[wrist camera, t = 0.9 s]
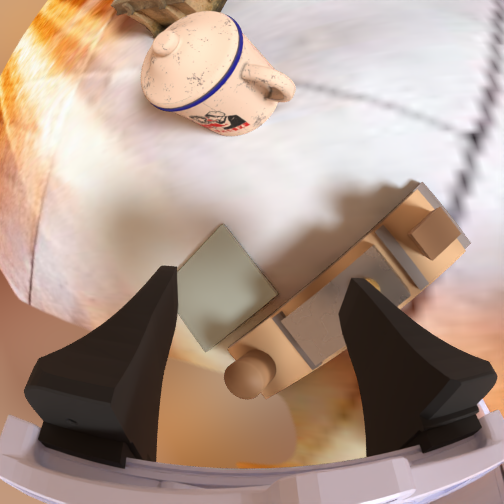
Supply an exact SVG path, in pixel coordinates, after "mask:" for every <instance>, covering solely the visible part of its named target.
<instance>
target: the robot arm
mask: <svg viewBox="0 0 504 504" xmlns="http://www.w3.org/2000/svg"><path fill="white" fill-rule="evenodd" d="M177 313H178V284H177V267H174V266H161V267H160V268H159V269H158V270H157V271H156V272H155V274H154V275H153V276H152V277H151V278H150V279H149V280H148V282H147V283H146V284H145V285H144V286H143V287H142V288H141V289H140V290H139V291H138V293H137V294H136V295H135V296H134V297H133V298H132V299H131V300H130V301H129V302H128V303H126V304H125V305H124V306H123V307H122V308H121V309H120V310H119V311H118V312H117V313H116V314H114V315H113V316H112V317H111V318H110V319H108V320H107V321H106V322H105V323H103V324H102V325H101V326H99V327H98V328H96V329H95V330H93V331H92V332H90V333H89V334H87V335H86V336H84V337H82V338H81V339H79V340H77V341H75V342H74V343H72V344H70V345H68V346H66V347H64V348H62V349H60V350H58V351H55V352H53V353H51V354H48V355H46V356H44V357H41V358H39V359H38V361H37V363H36V365H35V366H34V368H33V371H32V373H31V375H30V377H29V380H28V382H27V384H26V387H25V389H24V393H25V397H26V399H27V401H28V402H29V404H30V405H31V406H32V407H33V409H34V410H35V411H36V412H37V413H38V415H39V416H40V417H41V418H42V419H43V421H44V422H43V425H42V428H40V427H38V426H37V425H35V424H33V423H30V422H28V421H25V420H23V419H20V418H18V417H15V416H13V415H8V417H7V420H6V423H5V425H4V428H3V431H2V434H1V437H0V479H1V480H3V481H5V482H6V483H8V484H9V485H11V486H13V487H14V488H16V489H18V490H19V491H21V492H23V493H25V494H26V495H29V496H31V497H33V498H35V499H38V500H40V501H42V502H45V503H47V504H504V419H503V417H502V415H501V413H500V411H499V410H496V411H493V412H491V413H490V411H489V409H488V408H487V406H486V404H485V402H484V400H483V398H484V397H485V396H486V395H487V393H488V392H489V391H490V390H491V389H492V388H493V386H494V385H495V383H496V380H497V374H496V372H495V371H494V369H493V367H492V366H491V364H490V362H488V361H486V360H483V359H480V358H478V357H475V356H472V355H470V354H468V353H466V352H463V351H461V350H459V349H457V348H455V347H453V346H451V345H449V344H448V343H446V342H444V341H443V340H441V339H439V338H438V337H436V336H434V335H433V334H431V333H430V332H428V331H427V330H426V329H424V328H423V327H421V326H420V325H419V324H417V323H416V322H415V321H413V320H412V319H411V318H410V317H408V316H407V315H406V314H405V313H404V312H402V311H401V310H400V309H399V308H398V307H397V306H395V305H394V304H393V303H392V302H391V301H390V300H389V299H388V298H386V297H385V296H384V295H383V294H382V293H381V292H380V291H379V290H378V289H376V288H375V287H374V286H373V285H372V284H371V283H369V282H368V281H367V280H366V279H364V278H351V280H350V283H349V286H348V288H347V291H346V294H345V297H344V300H343V302H342V305H341V308H340V310H339V313H338V315H339V320H340V326H341V330H342V335H343V338H344V341H345V344H346V347H347V349H348V352H349V355H350V358H351V361H352V364H353V367H354V370H355V373H356V376H357V380H358V384H359V389H360V394H361V400H362V406H363V413H364V421H365V433H366V456H367V457H365V458H360V459H354V460H348V461H342V462H335V463H327V464H319V465H310V466H299V467H285V468H261V469H232V468H231V469H230V468H208V467H207V468H206V467H194V466H183V465H173V464H165V463H158V462H156V451H157V431H158V417H159V406H160V396H161V387H162V380H163V375H164V370H165V366H166V362H167V358H168V354H169V350H170V346H171V343H172V339H173V335H174V331H175V327H176V320H177Z"/></svg>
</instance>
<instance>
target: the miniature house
mask: <svg viewBox="0 0 504 504" xmlns="http://www.w3.org/2000/svg"><path fill="white" fill-rule="evenodd" d="M226 1H227V0H114V1H113V3H112V5H111V6H112V7H114V8H115V9H116V10H117V15H121V14H126V15H128V16H129V17H131V18H133V19H134V20H136V21H138V22H139V23H141V24H143V25H144V26H146V27H147V29H148V30H150V31H151V32H152V34H153V36H154V38H156V37H157V36H158V35H159V34H160V33H161V32H163V31H164V30H166V29H167V28H168V27H169V26H170V25H172V24H173V23H174V22H176V21H178V20H179V19H181V18H183V17H185V16H187V15H190V14H193V13H196V12H201V11H215V12H221V10H222V8H223V7H224V5H225V3H226Z"/></svg>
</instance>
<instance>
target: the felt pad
mask: <svg viewBox="0 0 504 504" xmlns="http://www.w3.org/2000/svg"><path fill="white" fill-rule="evenodd" d="M177 284H178V314H179V316H180V317H181V319H182V320H183V322H184V323H185V324H186V326H187V327H188V329H189V330H190V332H191V333H192V334H193V336H194V337H195V339H196V340H197V342H198V343H199V344H200V346H201V347H202V349H203V350H204V351H205V352H207V351H208V350H209V349H211V348H212V347H213V346H215V345H216V344H217V343H218V342H220V341H221V340H222V339H224V338H225V337H226V336H227V335H229V334H230V333H231V332H232V331H234V330H235V329H236V328H237V327H239V326H240V325H241V324H242V323H244V322H245V321H246V320H247V319H249V318H250V317H251V316H252V315H254V314H255V313H256V312H257V311H258V310H260V309H261V308H262V307H263V306H265V305H266V304H267V303H268V302H269V301H271V300H272V299H273V298H274V297H275V296H277V295H278V293H277V291H276V290H275V289H274V287H273V286H272V285H271V284H270V282H269V281H268V280H267V278H266V277H265V276H264V275H263V273H262V272H261V271H260V269H259V268H258V267H257V266H256V264H255V263H254V262H253V260H252V259H251V258H250V257H249V255H248V254H247V253H246V251H245V250H244V249H243V248H242V246H241V245H240V244H239V242H238V241H237V240H236V239H235V237H234V236H233V235H232V233H231V232H230V231H229V230H228V228H227V227H226V226H225V224H222V225H221V226H220V227H219V228H218V229H217V230H216V231H215V232H214V233H213V234H212V235H211V236H210V237H209V239H208V240H207V241H206V242H205V243H204V244H203V245H202V246H201V247H200V248H199V249H198V250H197V251H196V252H195V254H194V255H193V256H192V257H191V258H190V259H189V260H188V261H187V262H186V263H185V264H184V265H183V267H182V268H181V269H180V270H179V271H178V272H177Z"/></svg>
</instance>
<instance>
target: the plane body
mask: <svg viewBox="0 0 504 504" xmlns="http://www.w3.org/2000/svg"><path fill="white" fill-rule="evenodd" d="M470 244H471V243H470V241H469V240H468V238H467V237H466V236H465V234H464V233H463V231H462V230H461V229H460V227H459V226H458V225H457V223H456V222H455V221H454V219H453V218H452V217H451V216H450V214H449V213H448V212H447V210H446V209H445V208H444V207H443V206H442V204H441V203H440V202H439V201H438V199H437V198H436V197H435V196H434V195H433V193H432V192H431V191H430V190H429V189H428V188H427V186H426V185H425V184H424V183H423V182H421V183H420V184H419V185H418V186H417V187H416V188H415V189H414V190H413V191H412V192H411V193H410V194H409V195H408V196H407V197H406V198H405V199H404V200H403V201H402V202H401V203H399V204H398V205H397V206H396V207H395V208H394V209H393V210H392V211H391V212H390V213H389V214H388V215H387V216H385V217H384V218H383V219H382V220H381V221H380V222H379V223H378V224H377V225H376V226H375V227H373V228H372V229H371V230H370V231H369V232H368V233H367V234H366V235H365V236H363V237H362V238H361V239H360V240H359V241H358V242H357V243H356V244H354V245H353V246H352V247H351V248H350V249H349V250H348V251H346V252H345V253H344V254H343V255H342V256H341V257H340V258H338V259H337V260H336V261H335V262H334V263H333V264H331V265H330V266H329V267H328V268H327V269H326V270H324V271H323V272H322V273H321V274H320V275H318V276H317V277H316V278H315V279H314V280H312V281H311V282H310V283H309V284H308V285H306V286H305V287H304V288H303V289H302V290H300V291H299V292H298V293H297V294H296V295H294V296H293V297H292V298H291V299H289V300H288V301H287V302H286V303H284V304H283V305H282V306H281V307H279V308H278V309H277V310H276V311H274V312H273V313H272V314H271V315H269V316H268V317H267V318H266V319H264V320H263V321H262V322H261V323H259V324H258V325H257V326H255V327H254V328H253V329H252V330H250V331H249V332H248V333H246V334H245V335H244V336H242V337H241V338H240V339H239V340H237V341H236V342H235V343H233V344H232V345H231V346H229V347H228V348H229V349H228V351H229V353H230V354H231V355H232V357H233V358H234V359H235V360H236V361H235V362H234V363H232V364H231V365H230V366H228V367H227V369H226V370H225V374H224V380H225V384H226V386H227V388H228V389H229V390H230V392H231V393H233V394H234V395H235V396H237V397H239V398H242V399H252V398H255V397H256V396H257V395H259V394H260V393H262V395H263V396H264V397H265V399H267V398H269V397H271V396H272V395H274V394H276V393H278V392H280V391H281V390H283V389H285V388H286V387H288V386H290V385H292V384H293V383H295V382H296V381H298V380H300V379H301V378H303V377H305V376H306V375H308V374H309V373H311V372H313V371H314V370H316V369H317V368H319V367H320V366H322V365H324V364H325V363H327V362H328V361H330V360H331V359H333V358H334V357H336V356H337V355H339V354H340V353H341V352H343V351H344V350H346V349H347V347H346V346H344V347H343V348H341V349H340V350H338V351H337V352H335V353H334V354H332V355H331V356H329V357H328V358H326V359H325V360H323V361H322V362H320V363H319V364H317V365H316V366H315V364H314V363H313V362H312V361H311V359H310V358H309V357H308V355H307V354H306V353H305V352H304V350H303V349H302V348H301V347H300V345H299V344H298V343H297V341H296V340H295V339H294V338H293V336H292V335H291V334H290V333H289V331H288V330H287V329H286V327H285V326H284V325H283V324H282V322H281V321H282V320H283V319H284V318H286V317H287V316H288V315H289V314H291V313H292V312H293V311H295V310H296V309H297V308H298V307H300V306H301V305H302V304H303V303H305V302H306V301H307V300H308V299H310V298H311V297H312V296H313V295H315V294H316V293H317V292H318V291H320V290H321V289H322V288H323V287H324V286H326V285H327V284H328V283H329V282H330V281H332V280H333V279H334V278H335V277H337V276H338V275H339V274H340V273H341V272H342V271H344V270H345V269H346V268H347V267H348V266H350V265H351V264H352V263H353V262H354V261H355V260H357V259H358V258H359V257H360V256H361V255H362V254H363V253H365V252H366V251H367V250H368V249H369V248H370V247H371V246H373V245H375V246H376V247H377V248H378V250H379V251H380V252H381V253H382V255H383V256H384V257H385V258H386V260H387V261H388V262H389V264H390V265H391V266H392V267H393V269H394V270H395V271H396V272H397V274H398V275H399V276H400V278H401V279H402V280H403V282H404V283H405V284H406V286H407V287H408V288H409V291H410V294H411V296H410V297H409V298H407V299H406V300H405V301H404V302H403V303H401V304H400V305H399V306H398V308H399V309H401V308H402V307H403V306H405V305H406V304H407V303H408V302H410V301H411V300H412V299H413V298H414V297H416V296H417V295H418V294H419V293H420V292H422V291H423V290H424V289H425V288H426V287H427V286H428V285H430V284H431V283H432V282H433V281H434V280H435V279H436V278H438V277H439V276H440V275H441V274H442V273H443V272H444V271H445V270H446V269H448V268H449V267H450V266H451V265H452V264H453V263H454V262H455V261H456V260H457V259H458V258H459V257H460V256H461V255H462V254H463V253H464V252H466V250H465V249H466V248H467V247H468V246H469V245H470Z"/></svg>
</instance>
